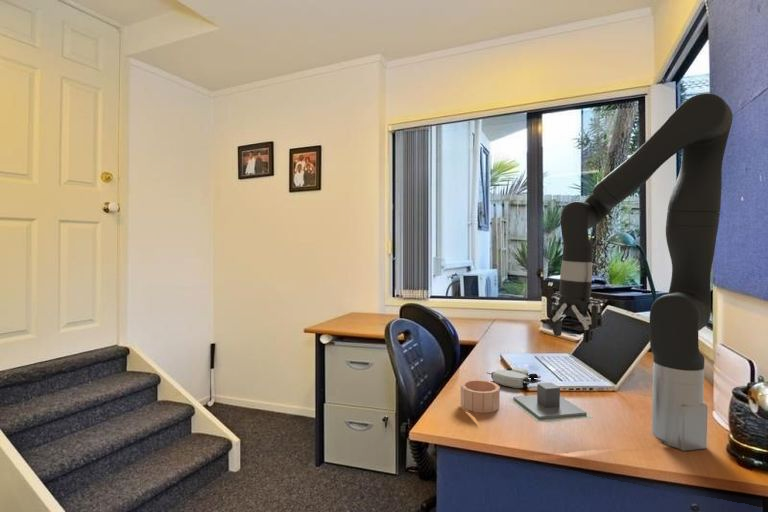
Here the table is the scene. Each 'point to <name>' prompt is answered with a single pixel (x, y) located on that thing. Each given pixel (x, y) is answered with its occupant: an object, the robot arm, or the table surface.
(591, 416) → the mat
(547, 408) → the lid
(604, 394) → the table surface
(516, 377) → the robot toy
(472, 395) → the bowl
